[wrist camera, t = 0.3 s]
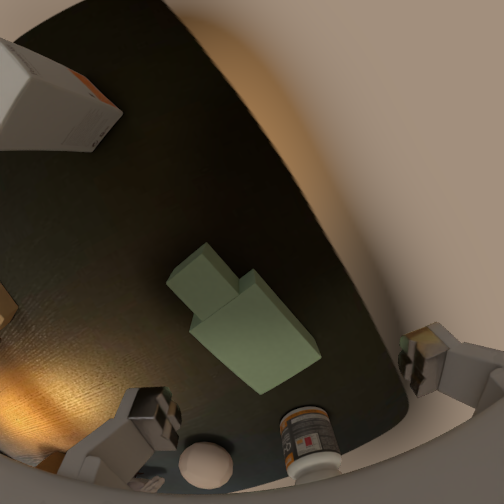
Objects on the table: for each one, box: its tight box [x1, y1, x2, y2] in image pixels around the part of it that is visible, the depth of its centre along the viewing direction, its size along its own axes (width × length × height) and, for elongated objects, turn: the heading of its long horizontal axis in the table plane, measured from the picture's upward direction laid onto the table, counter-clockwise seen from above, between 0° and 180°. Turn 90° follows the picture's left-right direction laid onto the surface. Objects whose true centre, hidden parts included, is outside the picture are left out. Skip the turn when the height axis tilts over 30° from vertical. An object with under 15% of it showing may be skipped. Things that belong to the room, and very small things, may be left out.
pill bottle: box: [280, 406, 342, 485], centre depth 24 cm, size 6×6×10 cm
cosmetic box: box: [0, 38, 123, 152], centre depth 13 cm, size 6×4×12 cm
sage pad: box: [166, 242, 322, 395], centre depth 23 cm, size 13×6×3 cm, turn 39°
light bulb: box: [179, 442, 233, 489], centre depth 28 cm, size 7×7×11 cm
